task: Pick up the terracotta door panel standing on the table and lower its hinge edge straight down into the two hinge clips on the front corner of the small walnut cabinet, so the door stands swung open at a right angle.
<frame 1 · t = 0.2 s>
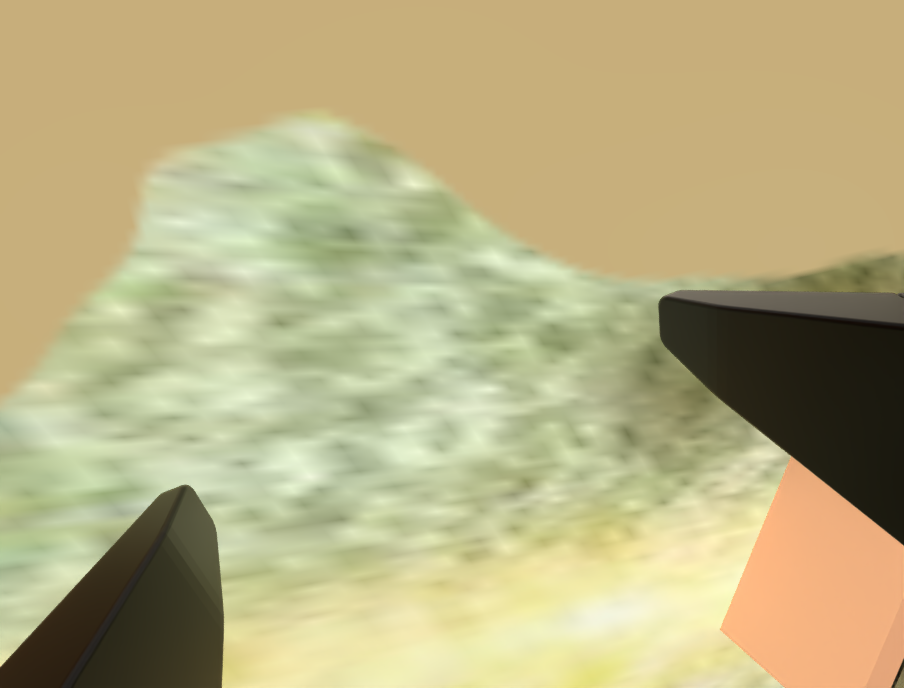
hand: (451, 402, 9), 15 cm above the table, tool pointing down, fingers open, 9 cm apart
cabinet door: (764, 545, 33), on the table
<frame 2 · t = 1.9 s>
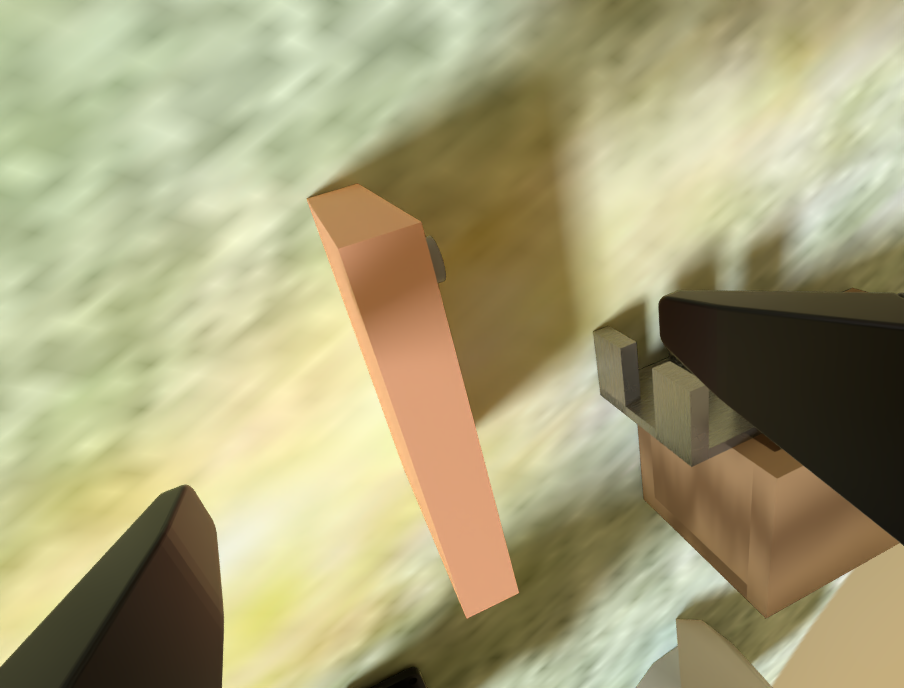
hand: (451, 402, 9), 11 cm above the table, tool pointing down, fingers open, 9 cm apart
cabinet door: (383, 343, 20), on the table
hinge clips: (640, 346, 24), on the table
toilet tissue: (678, 668, 38), on the table
cabinet: (746, 395, 28), on the table
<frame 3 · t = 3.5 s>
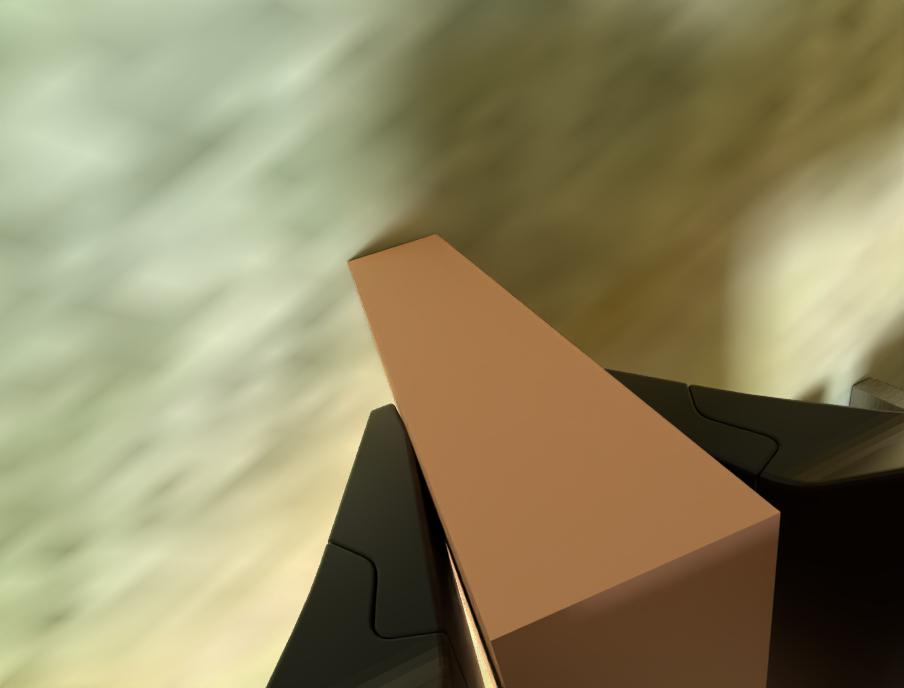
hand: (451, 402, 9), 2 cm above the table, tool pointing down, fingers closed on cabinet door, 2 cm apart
cabinet door: (461, 480, 13), on the table, touching gripper
hinge clips: (809, 447, 17), on the table
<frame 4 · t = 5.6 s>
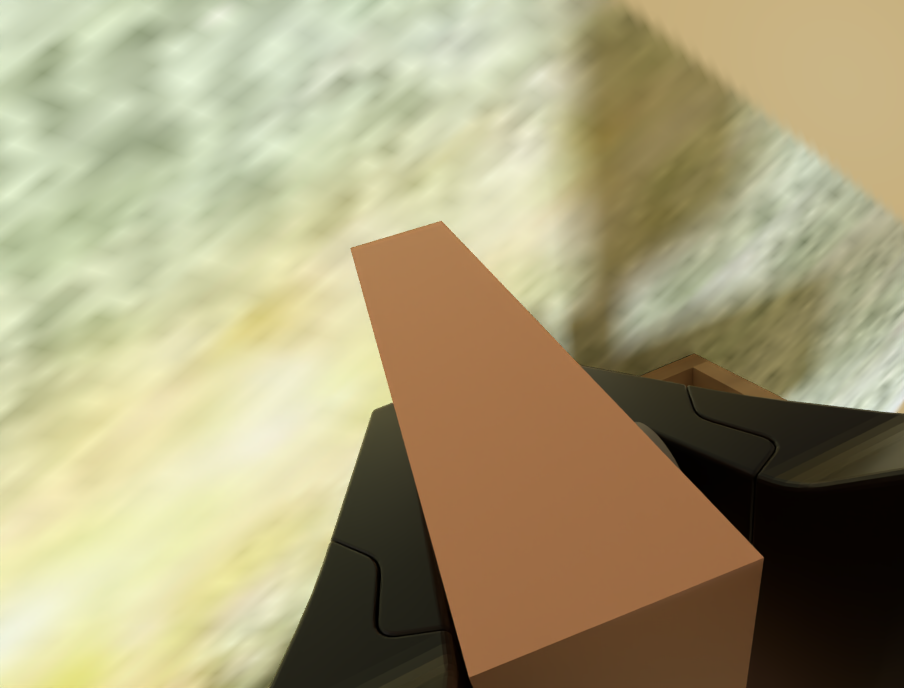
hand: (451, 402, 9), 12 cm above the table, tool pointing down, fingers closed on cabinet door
cabinet door: (461, 463, 13), point 10 cm above the table, tilted 7°, touching gripper
cabinet: (591, 459, 28), on the table
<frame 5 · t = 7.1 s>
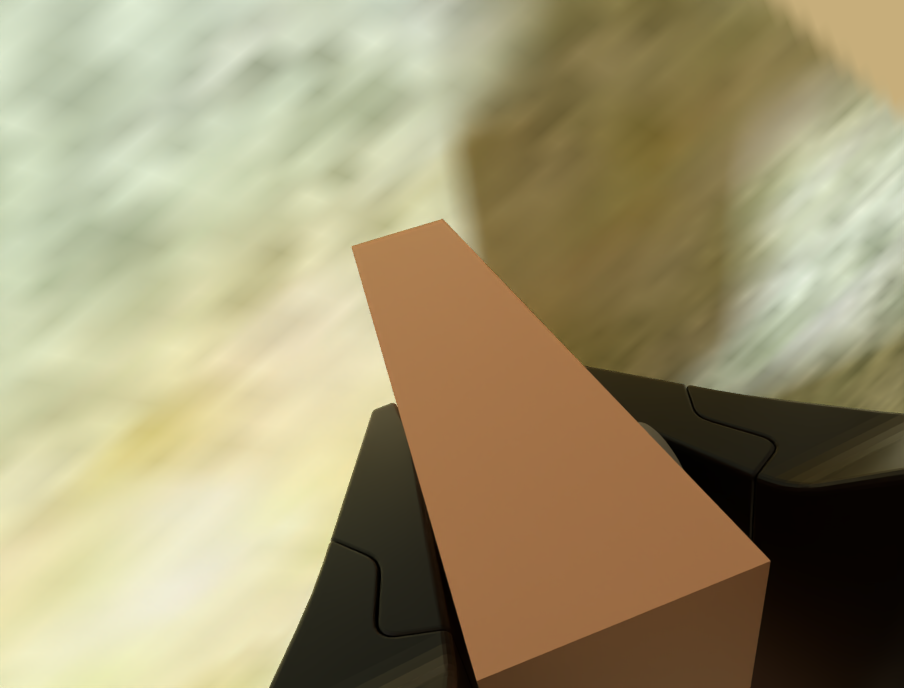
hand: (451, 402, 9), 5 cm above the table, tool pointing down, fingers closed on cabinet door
cabinet door: (462, 461, 13), point 3 cm above the table, tilted 6°, touching gripper
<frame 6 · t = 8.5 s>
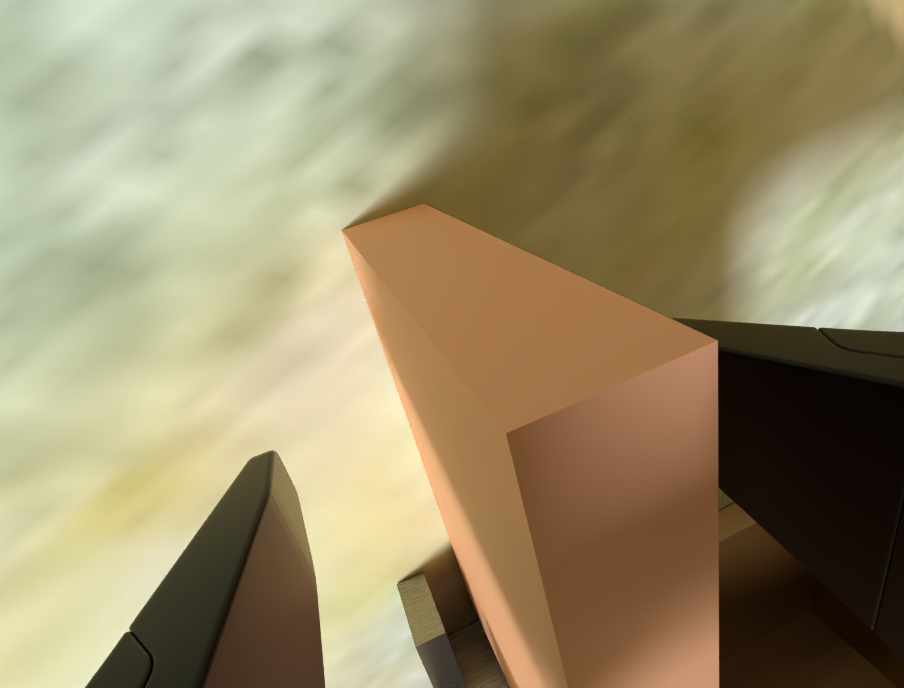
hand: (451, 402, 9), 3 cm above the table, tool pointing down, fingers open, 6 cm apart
cabinet door: (451, 439, 13), on the table
hinge clips: (486, 587, 16), on the table
cabinet: (669, 610, 20), on the table
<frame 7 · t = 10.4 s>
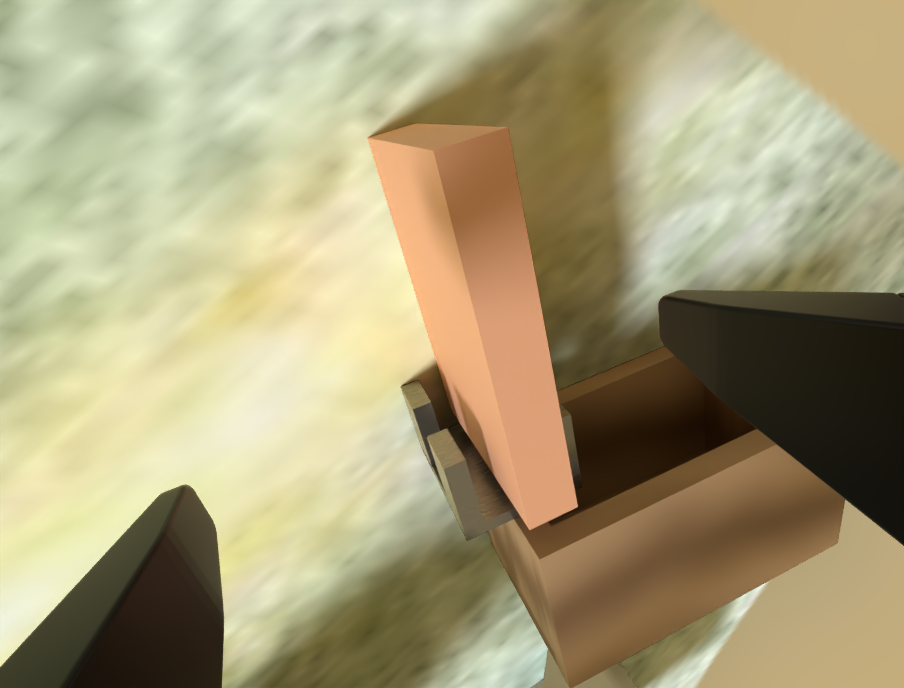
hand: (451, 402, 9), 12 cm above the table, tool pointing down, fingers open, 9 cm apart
cabinet door: (434, 284, 21), on the table
hinge clips: (460, 398, 23), on the table
cabinet: (597, 440, 27), on the table
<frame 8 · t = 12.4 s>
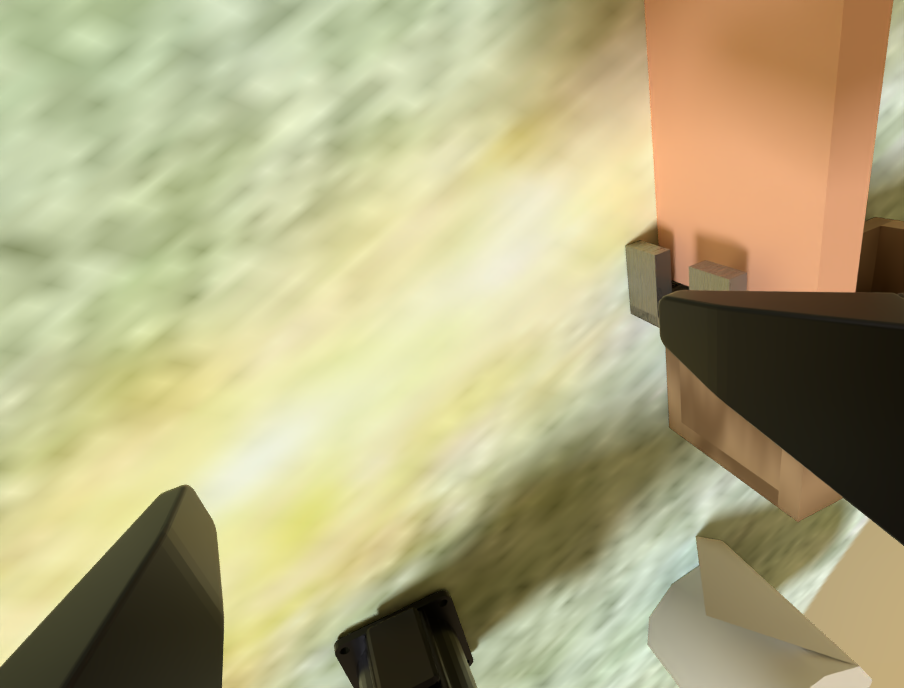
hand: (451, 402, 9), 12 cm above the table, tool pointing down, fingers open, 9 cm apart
cabinet door: (669, 142, 23), on the table
hinge clips: (670, 264, 25), on the table
toilet tissue: (697, 593, 37), on the table
cabinet: (770, 323, 29), on the table
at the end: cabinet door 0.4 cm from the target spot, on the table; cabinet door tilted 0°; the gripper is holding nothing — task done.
